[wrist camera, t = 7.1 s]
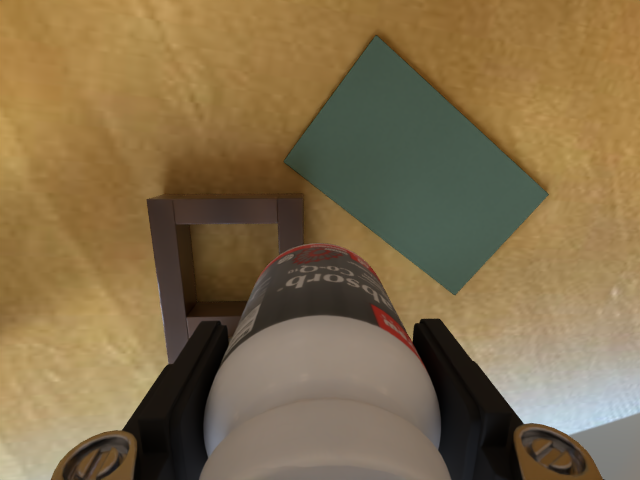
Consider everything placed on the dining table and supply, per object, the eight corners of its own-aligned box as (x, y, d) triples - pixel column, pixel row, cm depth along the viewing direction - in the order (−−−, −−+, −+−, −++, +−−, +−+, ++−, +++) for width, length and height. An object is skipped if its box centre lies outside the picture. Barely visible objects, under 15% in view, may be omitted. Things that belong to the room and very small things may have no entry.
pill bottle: (403, 267, 14) (589, 497, 5) (351, 372, 16) (416, 720, 6) (278, 219, 14) (206, 376, 4) (235, 334, 15) (102, 657, 5)
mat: (283, 161, 28) (283, 161, 28) (375, 36, 26) (376, 34, 25) (453, 293, 32) (455, 295, 31) (545, 193, 30) (549, 194, 29)
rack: (188, 410, 34) (177, 434, 31) (162, 194, 28) (146, 199, 25) (306, 406, 34) (306, 430, 31) (303, 193, 29) (302, 198, 26)
